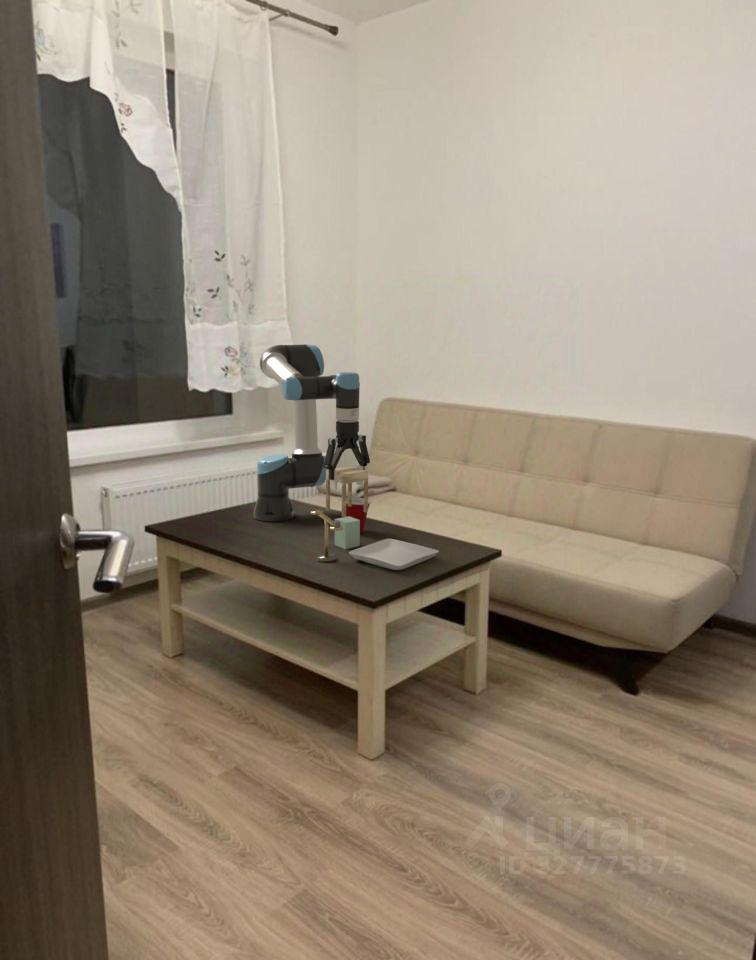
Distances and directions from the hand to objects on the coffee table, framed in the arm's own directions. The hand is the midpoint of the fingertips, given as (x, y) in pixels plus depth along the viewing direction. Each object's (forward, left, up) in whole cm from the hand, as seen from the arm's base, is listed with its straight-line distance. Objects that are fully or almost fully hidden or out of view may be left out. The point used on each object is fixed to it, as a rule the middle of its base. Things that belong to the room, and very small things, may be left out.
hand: (346, 487), depth 249 cm
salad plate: (+21, +3, -21) cm, 30 cm away
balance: (+8, -14, -20) cm, 26 cm away
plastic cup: (-11, +12, -20) cm, 26 cm away
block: (0, 0, -20) cm, 20 cm away
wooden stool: (0, 0, -8) cm, 8 cm away
